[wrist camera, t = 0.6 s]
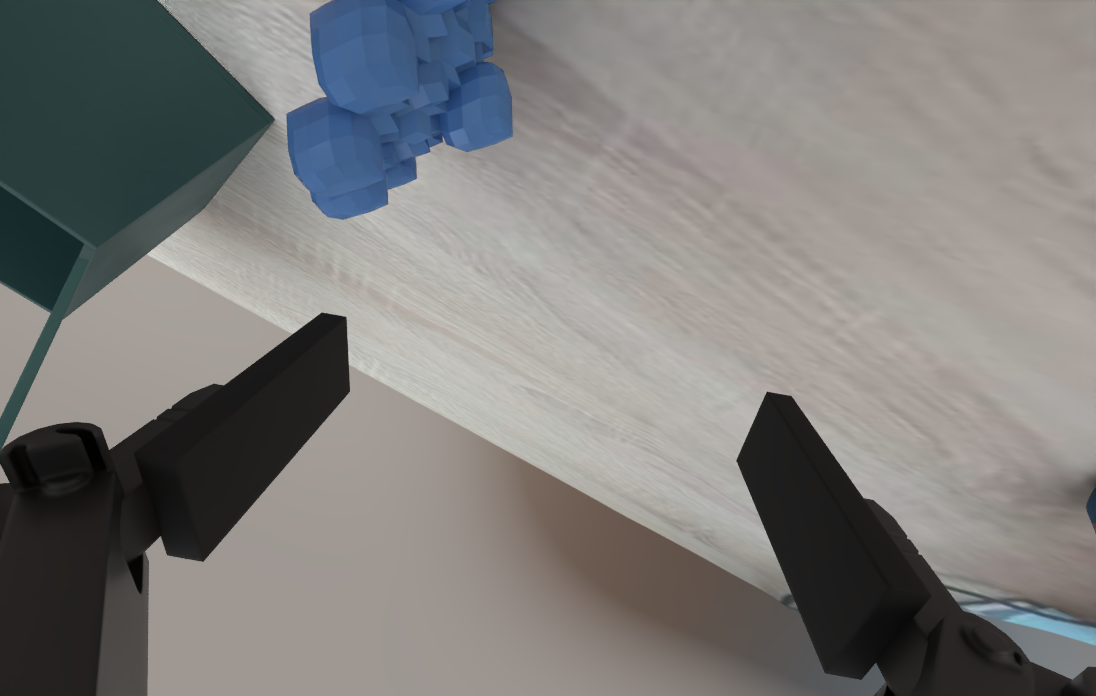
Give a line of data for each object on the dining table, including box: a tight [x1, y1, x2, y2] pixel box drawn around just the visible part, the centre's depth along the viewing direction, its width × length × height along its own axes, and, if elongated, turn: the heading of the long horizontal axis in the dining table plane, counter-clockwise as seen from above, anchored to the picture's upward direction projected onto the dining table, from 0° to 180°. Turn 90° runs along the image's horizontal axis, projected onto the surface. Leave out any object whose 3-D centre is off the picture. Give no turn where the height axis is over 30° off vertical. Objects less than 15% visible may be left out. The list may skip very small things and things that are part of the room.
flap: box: [0, 257, 90, 451], centre depth 24 cm, size 9×15×1 cm
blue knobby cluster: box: [286, 0, 513, 219], centre depth 17 cm, size 12×7×12 cm, turn 149°
